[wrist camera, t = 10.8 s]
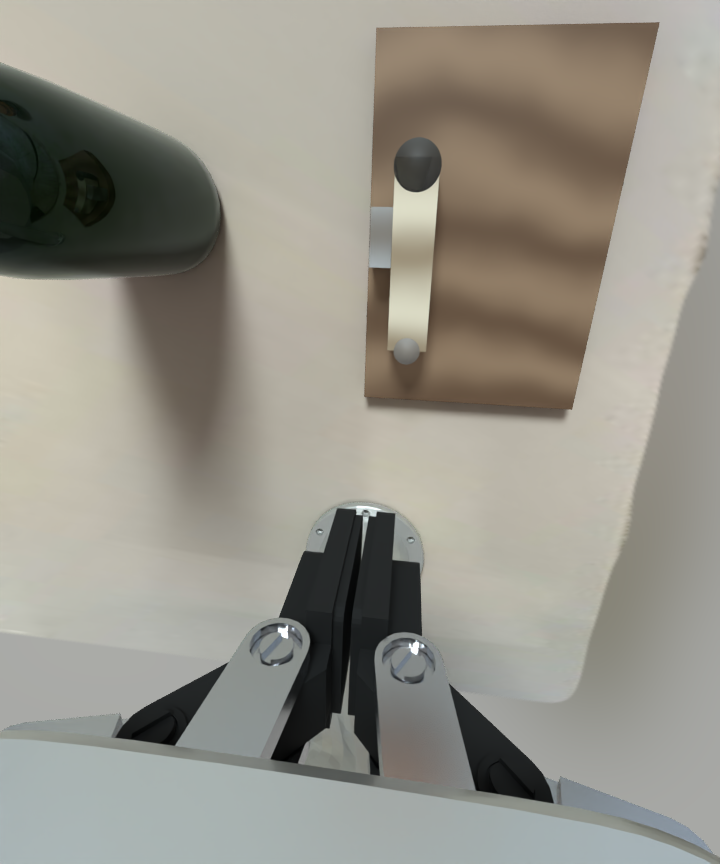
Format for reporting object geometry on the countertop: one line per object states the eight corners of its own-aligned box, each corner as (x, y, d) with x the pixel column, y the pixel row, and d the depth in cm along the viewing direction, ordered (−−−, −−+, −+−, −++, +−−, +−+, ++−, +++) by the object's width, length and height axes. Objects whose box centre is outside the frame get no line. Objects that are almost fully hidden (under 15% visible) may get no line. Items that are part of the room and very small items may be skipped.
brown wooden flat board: (566, 404, 39) (584, 421, 35) (366, 391, 41) (360, 407, 36) (647, 33, 29) (686, -4, 25) (378, 38, 31) (372, 4, 26)
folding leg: (425, 356, 37) (426, 365, 34) (387, 354, 37) (385, 363, 34) (441, 147, 31) (444, 135, 28) (396, 147, 31) (394, 136, 28)
